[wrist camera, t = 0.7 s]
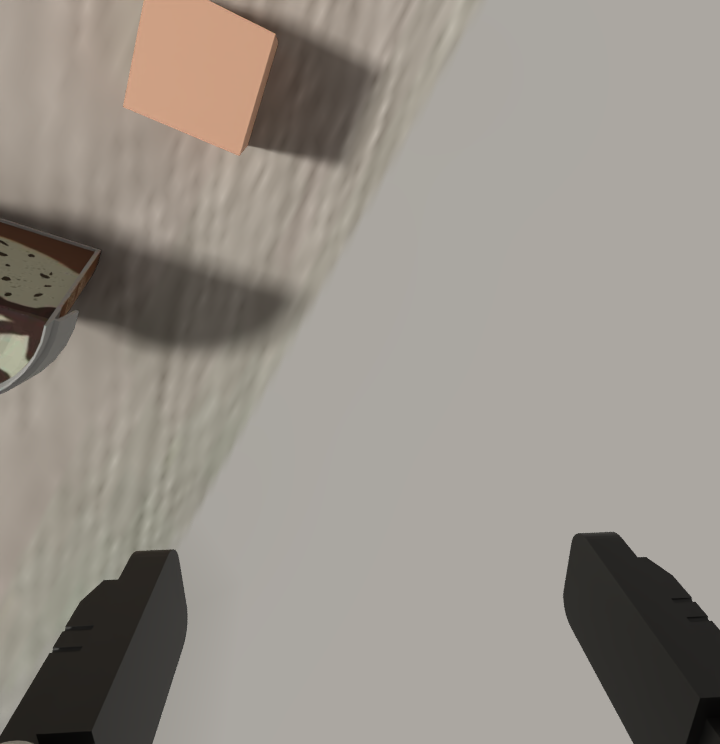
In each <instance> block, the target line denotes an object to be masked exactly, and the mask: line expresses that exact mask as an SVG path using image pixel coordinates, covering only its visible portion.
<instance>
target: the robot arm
mask: <svg viewBox="0 0 720 744" xmlns="http://www.w3.org/2000/svg"><path fill="white" fill-rule="evenodd" d="M563 598H564V607H565V612H566V616H567V619H568V622H569V624H570V626H571V628H572V630H573V632H574V634H575V636H576V638H577V639H578V641H579V643H580V645H581V647H582V648H583V651H584V652H585V654H586V656H587V658H588V660H589V662H590V664H591V665H592V667H593V669H594V671H595V673H596V674H597V677H598V678H599V680H600V682H601V684H602V686H603V688H604V690H605V691H606V693H607V695H608V697H609V699H610V701H611V703H612V705H613V706H614V708H615V710H616V712H617V714H618V715H619V717H620V719H621V721H622V723H623V725H624V726H625V729H626V731H627V732H628V734H629V736H630V738H631V740H632V741H633V743H634V744H720V630H719V629H718V627H717V626H716V625H715V624H714V623H713V622H712V621H709V620H708V616H707V615H706V614H705V612H704V611H703V610H702V609H701V608H700V607H699V605H698V604H697V603H696V602H692V599H691V596H690V595H689V594H688V593H687V592H686V590H685V589H684V588H683V587H682V586H681V585H680V584H679V582H678V581H677V580H676V579H675V578H674V577H673V575H671V574H670V573H668V572H667V571H665V570H664V569H662V568H661V567H660V566H658V565H657V564H655V563H654V562H652V561H651V560H649V559H648V558H647V557H637V556H636V555H635V554H634V552H633V551H632V550H631V549H630V548H629V547H628V545H627V544H626V543H625V541H624V540H623V539H622V538H621V537H620V536H619V535H618V534H617V533H615V532H600V533H578V534H576V535H575V536H574V537H573V540H572V543H571V550H570V556H569V562H568V568H567V574H566V580H565V587H564V593H563ZM186 631H187V605H186V599H185V593H184V587H183V581H182V575H181V569H180V563H179V557H178V554H177V552H176V550H174V549H173V550H150V551H135V552H134V553H133V554H132V555H131V557H130V559H129V561H128V563H127V564H126V566H125V568H124V570H123V572H122V574H121V576H120V577H119V579H118V580H104V581H103V582H101V583H100V584H99V585H98V586H97V587H96V588H95V589H94V590H93V591H92V592H90V593H89V594H88V595H87V596H86V597H85V598H84V599H83V600H82V601H81V602H80V603H79V605H78V606H77V608H76V610H75V611H74V613H73V615H72V616H71V618H70V620H69V621H68V623H67V625H66V629H65V631H64V632H62V633H61V635H60V637H59V638H58V640H57V642H56V643H55V645H54V647H53V652H52V653H49V655H48V657H47V658H46V660H45V662H44V663H43V665H42V667H41V668H40V670H39V672H38V673H37V675H36V677H35V678H34V680H33V682H32V684H31V685H30V687H29V689H28V690H27V692H26V694H25V695H24V697H23V699H22V700H21V702H20V704H19V705H18V707H17V709H16V710H15V712H14V714H13V715H12V717H11V719H10V720H9V722H8V724H7V725H6V727H5V729H4V730H3V732H2V734H1V735H0V744H152V743H153V740H154V737H155V733H156V730H157V727H158V724H159V721H160V718H161V714H162V711H163V708H164V705H165V702H166V699H167V696H168V693H169V689H170V686H171V683H172V680H173V677H174V674H175V671H176V667H177V664H178V661H179V658H180V655H181V652H182V649H183V645H184V642H185V637H186Z"/></svg>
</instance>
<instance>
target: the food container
mask: <svg viewBox="0 0 720 744" xmlns="http://www.w3.org/2000/svg"><path fill="white" fill-rule="evenodd" d="M100 254H101V250H100V249H97V248H94V247H91V246H87V245H84V244H81V243H78V242H75V241H72V240H69V239H65V238H62V237H59V236H56V235H53V234H50V233H47V232H43V231H40V230H37V229H34V228H31V227H28V226H25V225H21V224H18V223H15V222H12V221H9V220H6V219H3V218H0V394H2V393H5V392H7V391H8V390H10V389H12V388H14V387H15V386H17V385H19V384H21V383H23V382H24V381H26V380H28V379H29V378H31V377H33V376H35V375H36V374H38V373H40V372H41V371H42V370H44V369H45V368H46V367H47V366H48V365H49V364H50V363H52V362H53V361H54V360H55V359H56V358H57V356H58V355H59V354H60V352H61V351H62V350H63V349H64V347H65V346H66V344H67V342H68V340H69V338H70V336H71V334H72V332H73V330H74V328H75V324H76V321H77V317H78V313H79V311H77V310H74V311H72V312H70V313H69V314H67V313H68V312H69V310H70V309H71V307H72V305H73V304H74V302H75V301H76V299H77V298H78V296H79V295H80V293H81V292H82V290H83V289H84V287H85V286H86V284H87V282H88V281H89V279H90V278H91V276H92V275H93V273H94V271H95V269H96V267H97V265H98V262H99V258H100Z"/></svg>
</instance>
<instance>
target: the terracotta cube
mask: <svg viewBox="0 0 720 744" xmlns="http://www.w3.org/2000/svg"><path fill="white" fill-rule="evenodd" d="M277 46H278V41H277V37H276V34H275V33H273V32H271V31H269V30H267V29H265V28H263V27H261V26H259V25H257V24H255V23H253V22H251V21H249V20H247V19H245V18H243V17H241V16H239V15H237V14H235V13H233V12H231V11H229V10H227V9H225V8H223V7H221V6H219V5H217V4H215V3H213V2H211V1H209V0H144V2H143V7H142V13H141V18H140V23H139V28H138V33H137V38H136V43H135V48H134V53H133V59H132V64H131V69H130V74H129V79H128V84H127V89H126V94H125V99H124V104H123V107H124V108H127V109H129V110H132V111H134V112H136V113H139V114H141V115H143V116H146V117H148V118H151V119H153V120H155V121H158V122H160V123H163V124H165V125H167V126H170V127H172V128H174V129H177V130H179V131H182V132H184V133H186V134H189V135H191V136H193V137H196V138H198V139H201V140H203V141H205V142H208V143H210V144H212V145H215V146H217V147H220V148H222V149H224V150H227V151H229V152H232V153H234V154H236V155H239V156H240V154H241V153H242V152H243V151H244V149H245V148H246V147H247V146H248V143H249V140H250V136H251V133H252V129H253V126H254V123H255V119H256V116H257V113H258V109H259V106H260V103H261V99H262V96H263V93H264V89H265V86H266V83H267V79H268V76H269V73H270V69H271V66H272V63H273V59H274V56H275V53H276V49H277Z"/></svg>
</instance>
